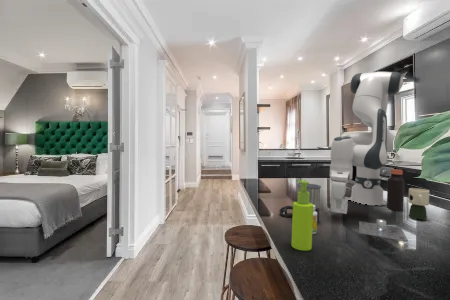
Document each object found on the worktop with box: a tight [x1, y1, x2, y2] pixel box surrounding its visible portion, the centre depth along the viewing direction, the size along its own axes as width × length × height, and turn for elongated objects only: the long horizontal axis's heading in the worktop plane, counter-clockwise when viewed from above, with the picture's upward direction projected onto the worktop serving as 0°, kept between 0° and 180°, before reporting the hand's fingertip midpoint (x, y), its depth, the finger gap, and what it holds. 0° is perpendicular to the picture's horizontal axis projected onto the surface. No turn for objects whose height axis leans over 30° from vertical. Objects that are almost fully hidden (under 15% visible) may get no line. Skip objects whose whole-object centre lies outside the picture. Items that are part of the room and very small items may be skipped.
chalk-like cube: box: [330, 195, 349, 215], centre depth 106 cm, size 6×6×6 cm
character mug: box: [407, 187, 430, 221], centre depth 107 cm, size 11×7×13 cm, turn 149°
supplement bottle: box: [312, 205, 318, 235], centre depth 87 cm, size 5×5×10 cm
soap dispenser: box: [290, 179, 313, 252], centre depth 75 cm, size 6×7×20 cm
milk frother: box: [279, 183, 322, 225], centre depth 102 cm, size 14×16×15 cm
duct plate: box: [358, 218, 409, 242], centre depth 90 cm, size 14×14×4 cm
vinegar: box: [386, 168, 405, 212], centre depth 123 cm, size 7×7×20 cm
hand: (339, 205), depth 106 cm, fingers closed on chalk-like cube, 6 cm apart
